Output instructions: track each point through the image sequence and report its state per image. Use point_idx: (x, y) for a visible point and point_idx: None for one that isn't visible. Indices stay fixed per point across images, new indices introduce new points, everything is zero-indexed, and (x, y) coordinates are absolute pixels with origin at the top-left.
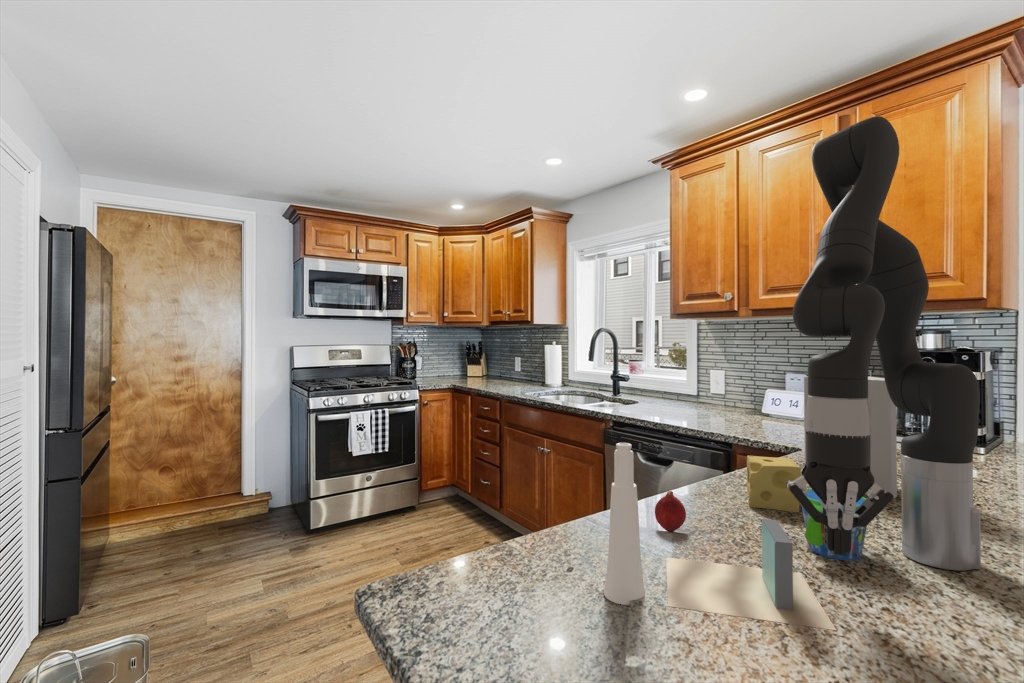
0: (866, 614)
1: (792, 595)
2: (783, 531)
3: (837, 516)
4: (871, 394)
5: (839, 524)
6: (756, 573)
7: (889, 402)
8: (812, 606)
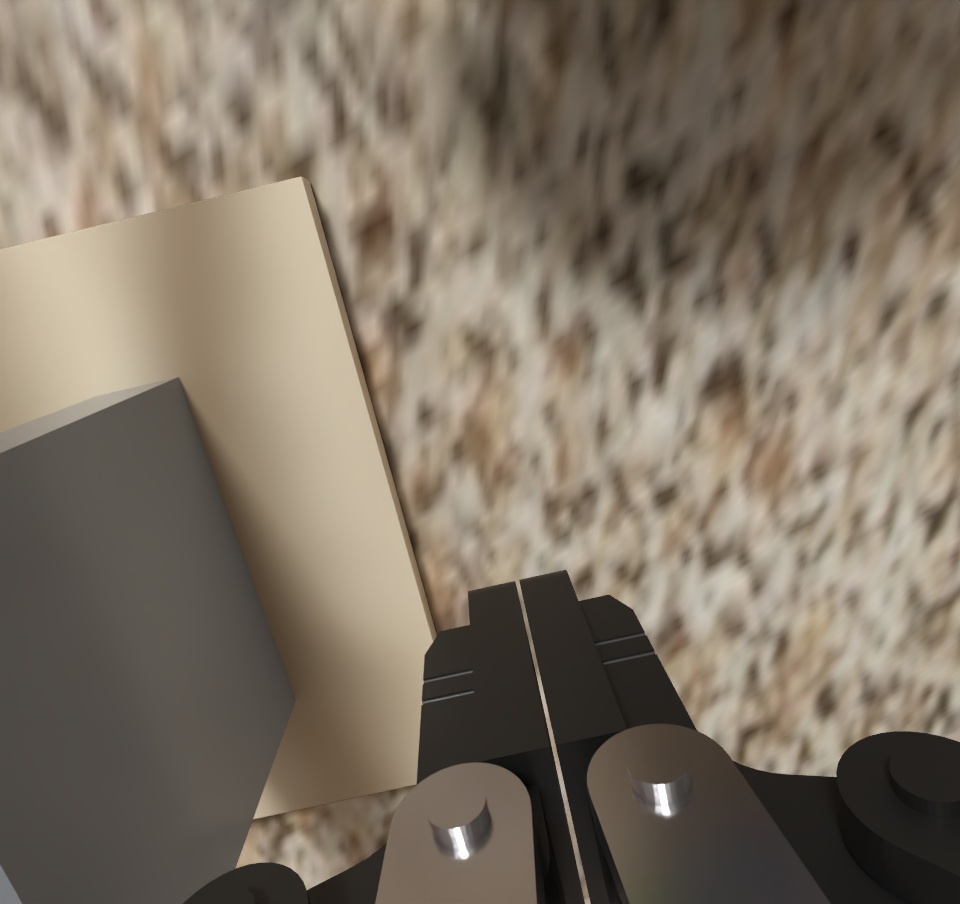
0: (619, 491)
1: (274, 755)
2: (3, 890)
3: (616, 884)
4: None
5: (606, 883)
6: (46, 342)
7: None
8: (378, 616)
